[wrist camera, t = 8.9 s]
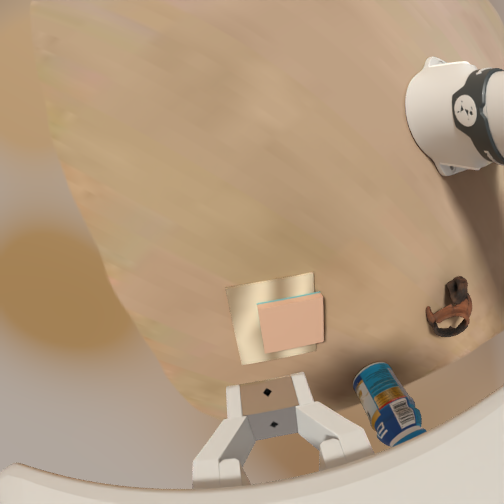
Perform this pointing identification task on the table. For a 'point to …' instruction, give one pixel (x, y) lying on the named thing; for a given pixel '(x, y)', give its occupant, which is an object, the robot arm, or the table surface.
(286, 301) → the glazed tile
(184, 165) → the table surface
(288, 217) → the table surface
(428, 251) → the table surface
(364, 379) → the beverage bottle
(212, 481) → the robot arm
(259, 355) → the cream cloth
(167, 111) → the table surface
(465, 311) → the brown ring-shaped piece
